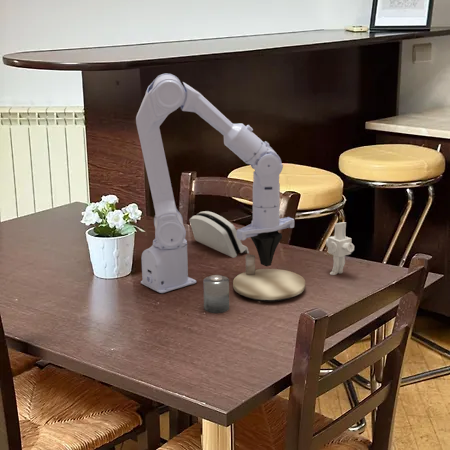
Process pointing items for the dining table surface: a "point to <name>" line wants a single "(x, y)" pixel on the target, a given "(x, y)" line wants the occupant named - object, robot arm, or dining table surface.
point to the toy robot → (339, 247)
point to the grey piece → (216, 233)
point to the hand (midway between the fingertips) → (265, 264)
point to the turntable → (267, 282)
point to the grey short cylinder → (216, 294)
